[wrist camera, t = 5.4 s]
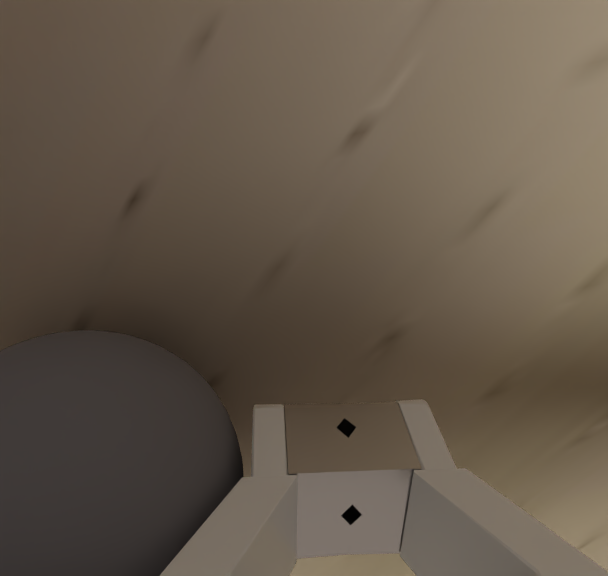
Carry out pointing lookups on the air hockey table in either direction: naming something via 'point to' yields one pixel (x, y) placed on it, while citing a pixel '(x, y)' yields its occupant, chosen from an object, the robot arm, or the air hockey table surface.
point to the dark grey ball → (106, 455)
